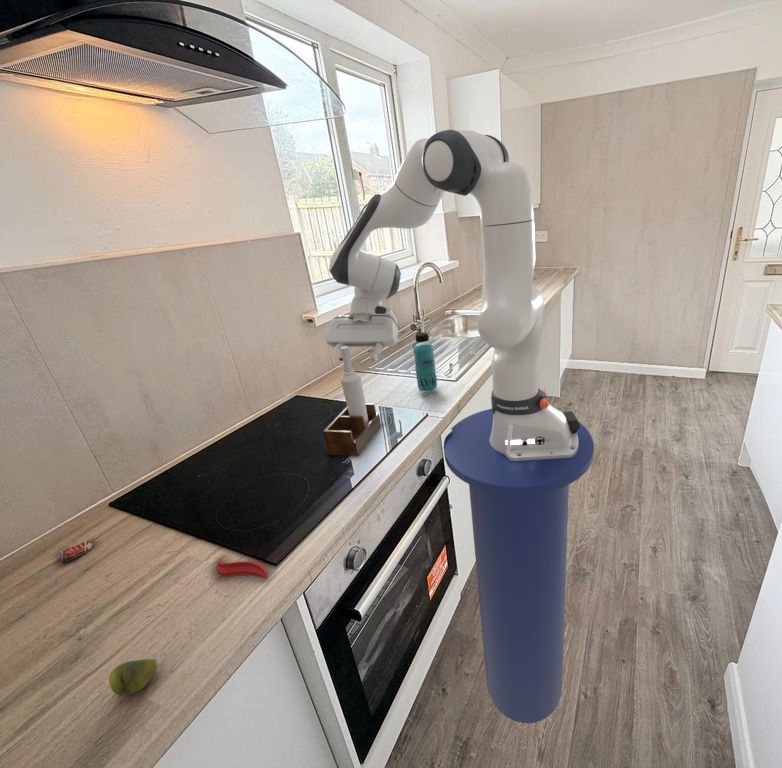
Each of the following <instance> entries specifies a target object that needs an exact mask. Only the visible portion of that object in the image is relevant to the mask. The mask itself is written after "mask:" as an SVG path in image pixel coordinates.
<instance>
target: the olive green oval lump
mask: <svg viewBox="0 0 782 768" xmlns="http://www.w3.org/2000/svg"><path fill="white" fill-rule="evenodd" d="M157 666H158V662H157V660H156V659H154V658H153V659H152V658H141V659H136V660H129V661H125V662H123V663H122V664H119V665H118V666H115V668H114V669H113V670H112V671H111V672H110V674H109V676H108V683H109V686H110V689H111V691H112V693H114V694H116V695H118V696H123V697H124V696H125V697H127V696H132V695H135V694H136V693H138V692H139V691H141V690H143V689H144V688H145V687H146V686H147V685H148V683H150V681H151V680H152V679H153V677H154V676H155V673H156V671H157V668H158V667H157Z"/></svg>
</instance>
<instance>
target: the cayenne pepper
mask: <svg viewBox="0 0 782 768" xmlns="http://www.w3.org/2000/svg"><path fill="white" fill-rule="evenodd" d="M216 571H217V573H218V574H219V576H220V577H223V578H229V577H235V576H255V577H262V578H264V579H265V580H266V579H268V576H269V572H268V569H267V567H266V566H265V565H264V564H263V563H261V562H257V561H234V562H227V563H226V562H224V561H223V560H222V558H219V559H218V560H217V562H216Z"/></svg>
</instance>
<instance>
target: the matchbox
mask: <svg viewBox="0 0 782 768" xmlns="http://www.w3.org/2000/svg"><path fill="white" fill-rule="evenodd" d="M92 548H93V544H92V542H88V543H87V541H86V540H83V541H81V542H78V543H76V544H73V545H70V546H69V547H66V548H65V549H62V550H61V551H60V557H61V558H60V561H62V562H63V563H66V562H69V561H72V560H75V559H76V558H78V557H80V556H82V555H84V554H86V553H87V551H89V550H90V549H92Z"/></svg>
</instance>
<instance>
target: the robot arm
mask: <svg viewBox="0 0 782 768" xmlns="http://www.w3.org/2000/svg"><path fill="white" fill-rule="evenodd" d="M445 192H446V193H450V194H451V193H452V194H456V195H459V196H463V197H466V196H468V195H469V194H470V195H472V196H473V197H474V198H475V200H476V201H477V204H478V209H479V218H480V219H479V221H480V232H481V244H482V254H483V255H482V256H483V278H482V288H481V289H482V290H481V305H480V313H479V316H478V319H477V332H478V334H479V337H480V338H481V339H482V341H483V343H485V345H487V346H489V347H491V348H493V355H492V359H491V378H492V379H491V380H492V391H491V395H490V401H491V402H490V405H491V409H492V412H493V425H492V431H491V435H490V439H489V442H490V445H491V446H492V448H494V449H495V450H496V451H498V452H500V453H502V454H504V455H505V456H506V457H507V458H508V459H509V460H511V461H526V460H541V459H557V458H570V457H573V456H574V455H575V454H576V453H577V451H578V446H579V443H578V436H577V433H576V432H577V431H578V429H579V427H580V424H579V423H580V422H579V420H578V418H577V416H576V415H575V413H574V411H573V410H570V411H569V410H567V411H560V410H559V408H558V409H557V408H556V407H554V406H553V405H551V404H549V399H548V395H547V393H546V391H547V390H546V389H545V388H543V390H542V389H541V388H539V358H540V350H541V342H542V331H543V319H544V307H545V301H544V296H543V294H542V292H541V291H540V290H539V289H538V288H537V287H536V286H535V285H534V284H533V282H534V281H533V280H534V273H535V266H536V261H537V256H536V255H537V254H536V233H535V232H536V230H535V212H534V203H533V196H532V189H531V184H530V180H529V176H528V173H527V171H526V169H525V168H524V167H523V166H521V165H520V164H518V163H515V162H510V156H509V153H508V150H507V148H506V146H505V144H504V143H502V141H500V139H498V138H496V137H495V136H492V135H490V134H483V133H479V132H476V131H474V130H467V129H466V130H465V129H463V130H462V129H459V130H455V129H445V130H441V131H439V132H436V133H435V134H433V135H432V136H430V137H429V138H426V137H424V138H423V137H422V138H419V139H418V140H416V141H415V142H414V143H413V144H412V146H411V148H410V149H409V151H408V152H407V153H406V155H405V157H404V158H403V161H402V162H401V165H400V166H399V169H398V170H397V173H396V175H395V177H394V180H393V182H392V184H391V185H390V186H389V187H388V188H387V189H385V191H383V192H381V193H375V194H373V195H372V196H371V197H370V198H369V199H368V200H367V202H366V203H365V204H364V206H363V207H362V209H361V211H360V212H359V214H358V215H357V217H356V219H355V220H354V222H353V223H352V225H351V226H350V228H349V230H348V231H347V233H346V234H345V237H344V238H343V240H342V241H341V243H339V245H337V248H335V250H334V252H333V253H332V255H331V257H330V260H329V265H328V267H329V269H328V270H329V273H330V275H331V276H332V278H333V279H334V281H335V282H336V283H338V284H341V285H345V286H351V287H354V290H353V291H354V292H353V293H354V295H353V298H352V299H351V303H350V309H349V313H348V315H336V316H335V317H333V318H332V319H331V320H330V323H329V326H328V329H327V331H326V334H325V338H324V339H325V342H326V343H327V344H328V345H329V346H330V347H331V348H336V351H337V353H338V355H337V360H338V361H340V362H343V358H342V354H341V349H340V348H341V347H343V346H348V347H349V348H376V349H375V350H374V351H373V352H370V356H369V359H370V360H371V362H372V361H373V362H377V361H379V356H380V355H381V354H382V352H383V351H384V349H385V348H387V347H388V348H389V347H390V348H391V347H392V348H393V347H395V346H396V345H397V344H398V340H399V327H398V318H397V316H396V314H395V313H394V311H392V310H391V308H389V307H387V306H384V300H388V299H390V298H391V297H393V296H395V295H396V294H397V292H398V291H399V287H400V283H401V276H402V273H401V270H400V268H399V265H398V264H397V263H396V262H393V261H392V260H389V259H387V258H385V257H381V256H378V255H375V254H373V253H370V252H368V251H365V250H362V249H361V248H362V247H363V245H364V244H365V242H366V240H367V239H368V238H369V236H370V235H371V233H372V232H374V231H375V230H379V229H386V228H387V229H388V228H389V229H390V228H391V229H392V228H394V229H403V230H404V229H405V230H410V229H416V228H419V227H422V226H424V225H425V224H427V223H428V222H429V221H430V220H431V218H432V216H434V213H435V212H436V209H437V207H438V205H439V204H440V201H441V200H442V197H443V195H444V193H445Z"/></svg>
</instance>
